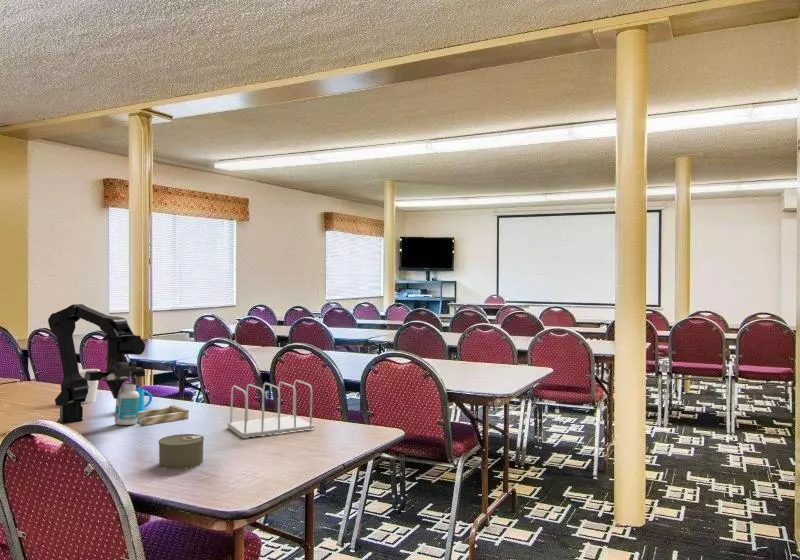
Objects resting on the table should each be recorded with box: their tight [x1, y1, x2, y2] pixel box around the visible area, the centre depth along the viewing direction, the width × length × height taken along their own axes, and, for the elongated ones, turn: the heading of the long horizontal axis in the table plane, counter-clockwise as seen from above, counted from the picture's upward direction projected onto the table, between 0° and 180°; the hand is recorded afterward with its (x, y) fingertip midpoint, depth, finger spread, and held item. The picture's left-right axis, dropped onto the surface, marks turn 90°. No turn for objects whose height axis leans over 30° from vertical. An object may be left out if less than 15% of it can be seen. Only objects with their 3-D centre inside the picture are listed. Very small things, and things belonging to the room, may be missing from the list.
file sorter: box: [227, 379, 315, 439], centre depth 217 cm, size 25×17×16 cm
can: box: [158, 433, 205, 470], centre depth 176 cm, size 12×12×7 cm
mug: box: [135, 387, 153, 412], centre depth 246 cm, size 12×8×8 cm
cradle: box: [136, 405, 190, 426], centre depth 231 cm, size 16×12×3 cm
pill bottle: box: [114, 384, 139, 426], centre depth 222 cm, size 8×7×14 cm
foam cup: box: [79, 368, 101, 404], centre depth 262 cm, size 10×9×13 cm
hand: (115, 398), depth 219 cm, fingers closed
